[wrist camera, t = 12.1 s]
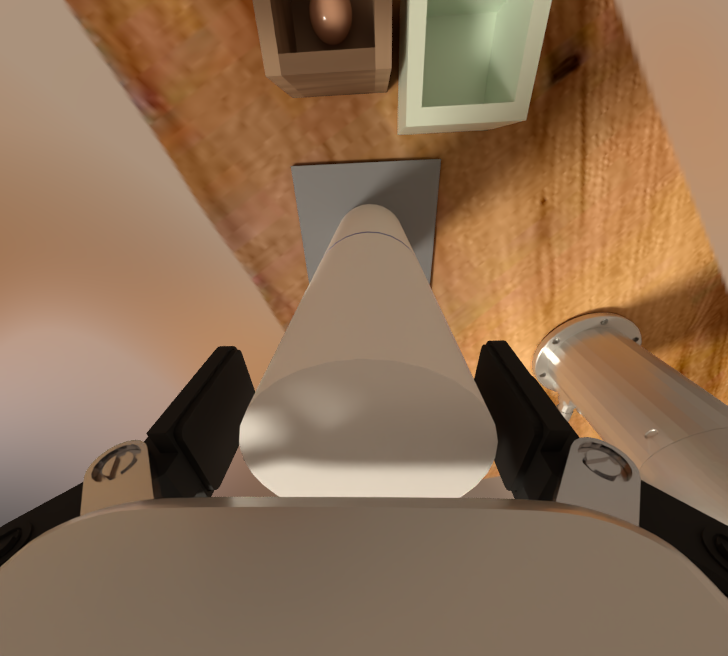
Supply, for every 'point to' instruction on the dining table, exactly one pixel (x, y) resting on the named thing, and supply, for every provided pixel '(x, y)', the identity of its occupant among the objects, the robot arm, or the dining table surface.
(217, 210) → the dining table surface
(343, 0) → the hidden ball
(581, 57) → the dining table surface
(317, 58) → the walnut cup
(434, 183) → the felt mat
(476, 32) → the green cup
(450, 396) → the cylindrical container
